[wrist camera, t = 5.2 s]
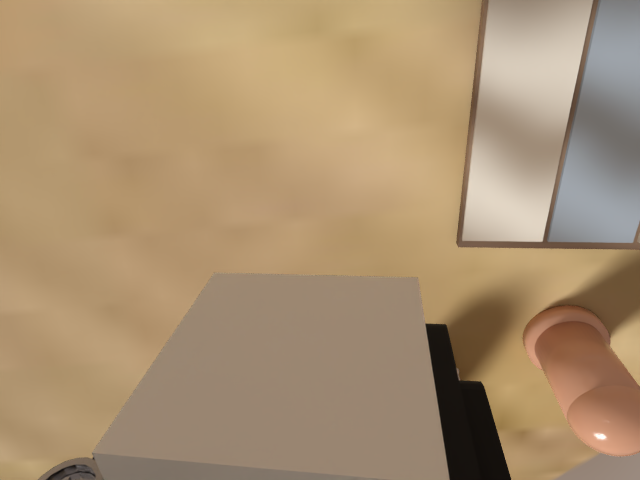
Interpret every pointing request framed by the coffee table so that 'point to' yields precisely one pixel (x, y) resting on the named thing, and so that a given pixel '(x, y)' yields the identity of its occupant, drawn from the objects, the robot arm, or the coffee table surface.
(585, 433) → the pawn
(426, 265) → the coffee table surface
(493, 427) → the robot arm
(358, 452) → the die
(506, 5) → the board
